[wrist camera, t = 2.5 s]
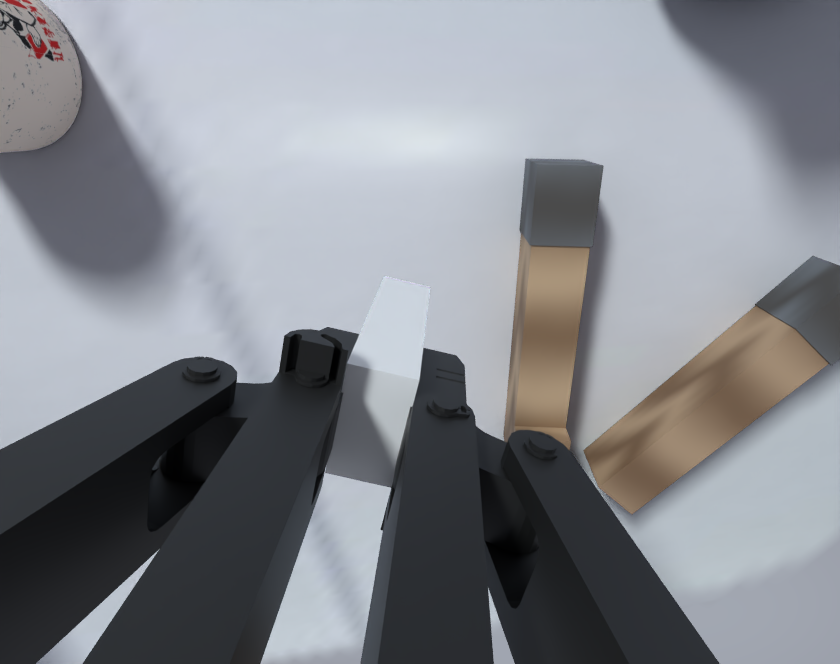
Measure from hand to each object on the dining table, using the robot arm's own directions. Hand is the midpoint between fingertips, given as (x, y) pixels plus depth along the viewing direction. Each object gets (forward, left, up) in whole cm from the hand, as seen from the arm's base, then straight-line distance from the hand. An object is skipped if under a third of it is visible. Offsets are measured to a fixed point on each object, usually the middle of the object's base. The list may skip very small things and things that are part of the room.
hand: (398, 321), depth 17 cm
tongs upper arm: (0, -12, -16) cm, 20 cm away
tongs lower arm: (+3, -19, -16) cm, 25 cm away
